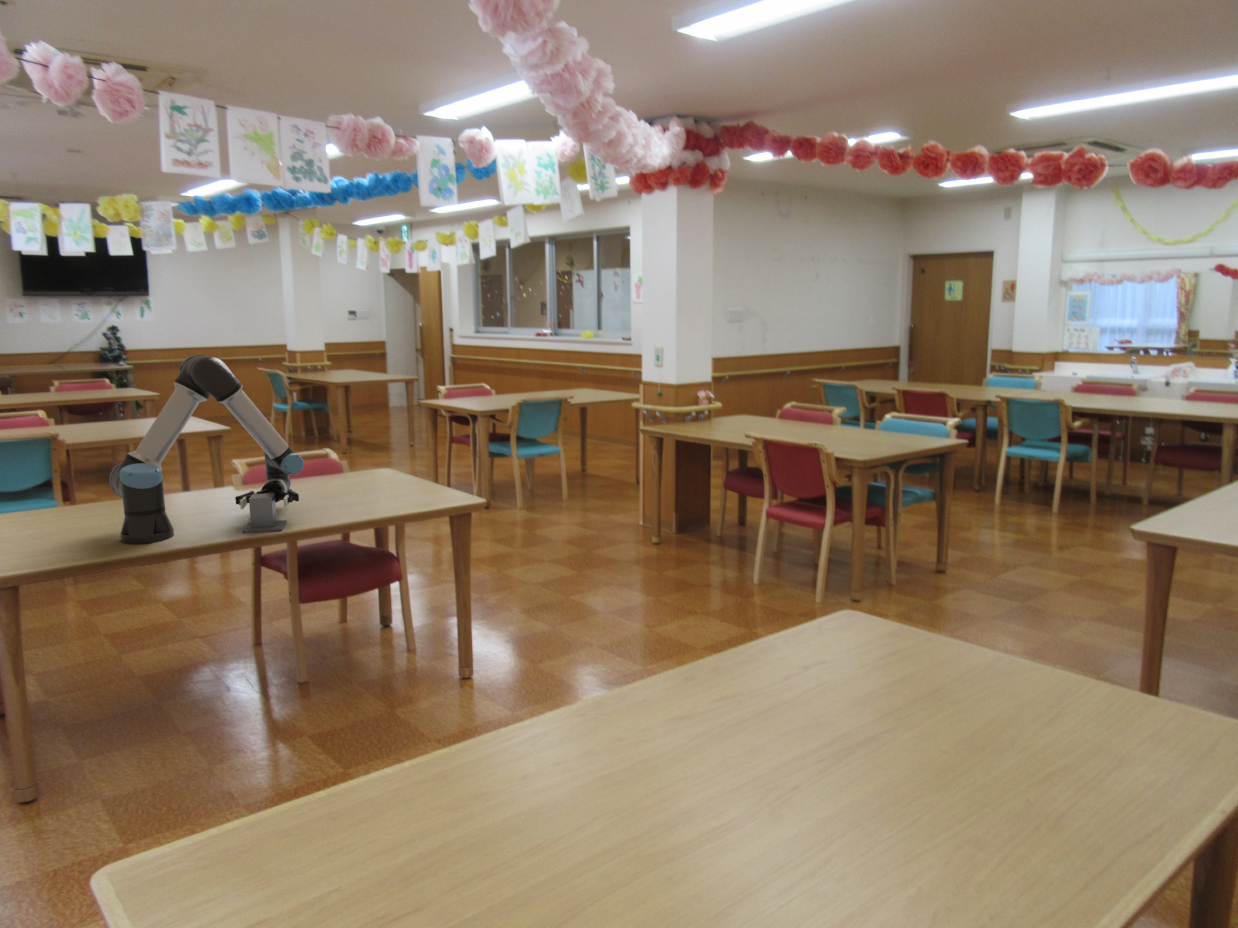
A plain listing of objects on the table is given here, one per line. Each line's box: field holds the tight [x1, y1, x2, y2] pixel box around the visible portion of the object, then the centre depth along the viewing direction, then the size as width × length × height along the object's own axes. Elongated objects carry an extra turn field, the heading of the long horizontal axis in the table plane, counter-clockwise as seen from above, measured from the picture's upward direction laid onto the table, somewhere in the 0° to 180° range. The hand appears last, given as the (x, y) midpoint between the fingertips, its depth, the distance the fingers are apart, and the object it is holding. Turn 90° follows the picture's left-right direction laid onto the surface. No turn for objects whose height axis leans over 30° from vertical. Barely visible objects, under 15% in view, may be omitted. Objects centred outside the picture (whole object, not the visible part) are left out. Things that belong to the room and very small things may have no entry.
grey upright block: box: [248, 493, 278, 528], centre depth 293 cm, size 7×7×10 cm
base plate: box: [242, 519, 288, 534], centre depth 294 cm, size 12×12×1 cm
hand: (263, 503), depth 292 cm, fingers open, 13 cm apart
